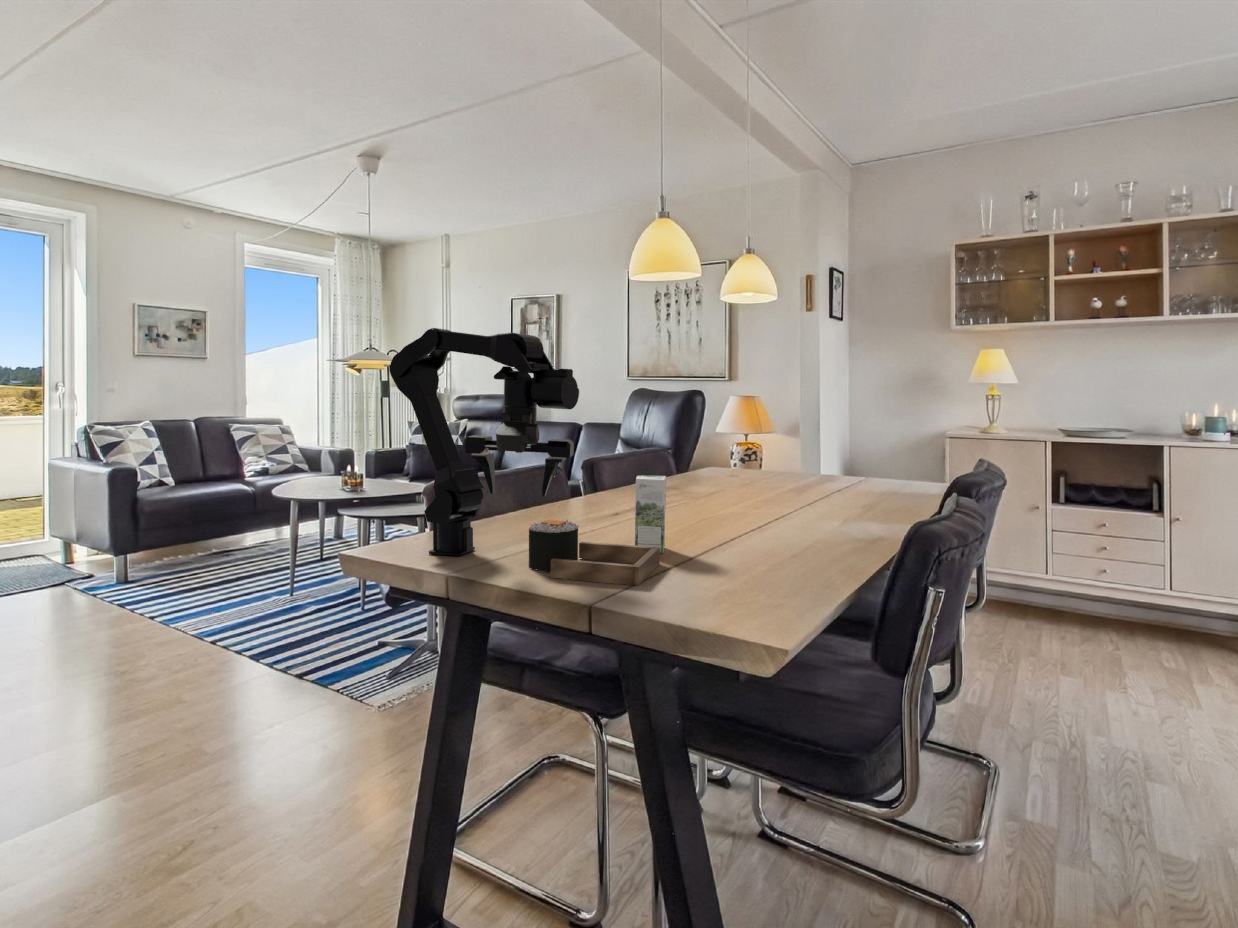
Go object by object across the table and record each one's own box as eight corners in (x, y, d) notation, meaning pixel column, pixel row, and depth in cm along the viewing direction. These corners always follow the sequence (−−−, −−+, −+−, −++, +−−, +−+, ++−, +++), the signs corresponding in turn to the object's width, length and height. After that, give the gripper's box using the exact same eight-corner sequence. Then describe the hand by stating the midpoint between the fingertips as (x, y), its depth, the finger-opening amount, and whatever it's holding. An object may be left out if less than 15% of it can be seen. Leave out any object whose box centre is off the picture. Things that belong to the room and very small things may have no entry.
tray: (550, 578, 114) (550, 560, 114) (581, 557, 129) (581, 541, 129) (638, 585, 110) (638, 567, 110) (659, 563, 125) (659, 547, 125)
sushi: (521, 568, 120) (521, 523, 120) (545, 559, 128) (546, 515, 127) (562, 574, 117) (562, 527, 116) (585, 563, 125) (585, 519, 124)
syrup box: (665, 547, 139) (666, 474, 138) (664, 554, 133) (665, 478, 132) (636, 546, 139) (637, 474, 138) (634, 553, 134) (635, 477, 132)
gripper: (454, 405, 115) (452, 499, 117) (567, 410, 114) (564, 505, 116) (472, 404, 126) (470, 490, 128) (575, 408, 125) (572, 495, 127)
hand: (518, 495), depth 124 cm, fingers open, 9 cm apart
